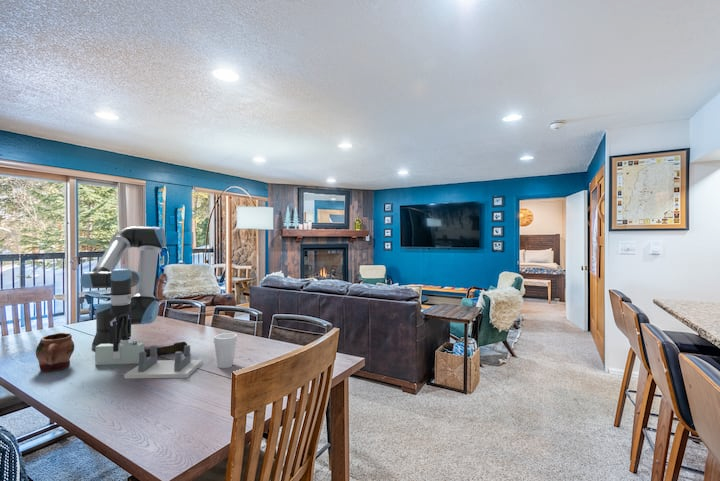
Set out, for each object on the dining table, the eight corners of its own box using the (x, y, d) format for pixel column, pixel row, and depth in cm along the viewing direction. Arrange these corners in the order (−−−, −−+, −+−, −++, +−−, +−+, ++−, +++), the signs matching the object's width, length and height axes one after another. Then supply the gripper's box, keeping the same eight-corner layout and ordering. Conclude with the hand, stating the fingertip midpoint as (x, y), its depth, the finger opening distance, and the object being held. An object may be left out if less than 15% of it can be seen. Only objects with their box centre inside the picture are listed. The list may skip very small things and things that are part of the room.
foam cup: (241, 363, 156) (241, 334, 156) (226, 370, 147) (227, 339, 147) (223, 360, 159) (224, 332, 159) (208, 367, 150) (209, 337, 150)
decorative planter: (72, 373, 142) (72, 339, 142) (31, 380, 135) (31, 344, 135) (75, 359, 158) (76, 328, 158) (39, 364, 151) (39, 332, 151)
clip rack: (146, 363, 154) (146, 343, 154) (202, 363, 155) (202, 343, 155) (124, 378, 138) (124, 355, 138) (186, 377, 139) (187, 355, 139)
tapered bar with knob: (100, 361, 156) (101, 341, 156) (144, 360, 158) (144, 340, 158) (95, 365, 152) (95, 344, 152) (139, 363, 154) (140, 343, 154)
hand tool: (143, 359, 160) (143, 349, 160) (142, 356, 164) (143, 346, 164) (188, 352, 171) (188, 342, 171) (187, 349, 175) (187, 340, 175)
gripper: (117, 307, 146) (117, 363, 146) (140, 300, 164) (140, 350, 164) (98, 307, 146) (98, 363, 146) (123, 300, 163) (123, 350, 163)
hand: (120, 356), depth 155 cm, fingers closed on tapered bar with knob, 4 cm apart
